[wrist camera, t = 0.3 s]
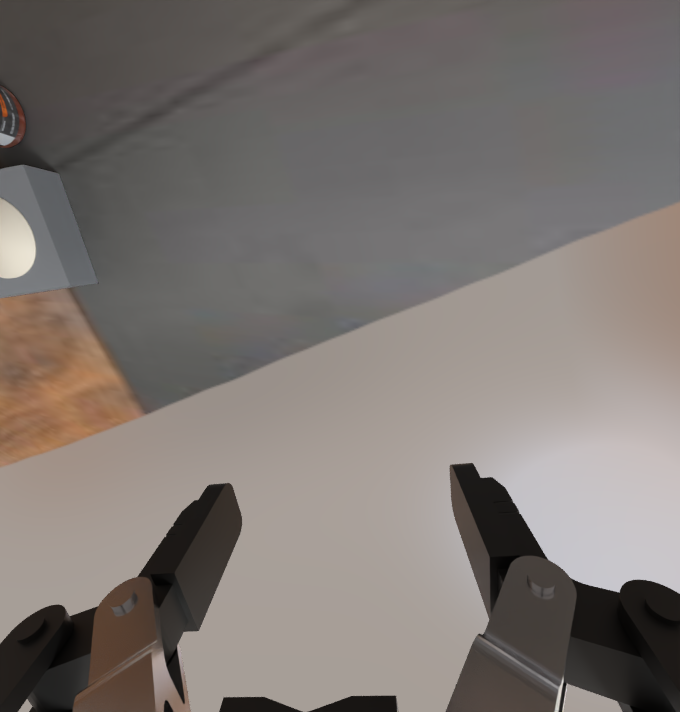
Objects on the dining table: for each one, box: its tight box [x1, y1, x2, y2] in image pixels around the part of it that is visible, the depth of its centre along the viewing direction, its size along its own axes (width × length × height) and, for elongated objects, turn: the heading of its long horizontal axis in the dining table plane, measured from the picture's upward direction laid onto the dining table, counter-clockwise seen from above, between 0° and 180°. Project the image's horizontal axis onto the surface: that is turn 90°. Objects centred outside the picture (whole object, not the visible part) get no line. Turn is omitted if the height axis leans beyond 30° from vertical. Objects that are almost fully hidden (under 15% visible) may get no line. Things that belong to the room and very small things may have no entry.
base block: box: [0, 164, 98, 298], centre depth 36 cm, size 12×12×4 cm
